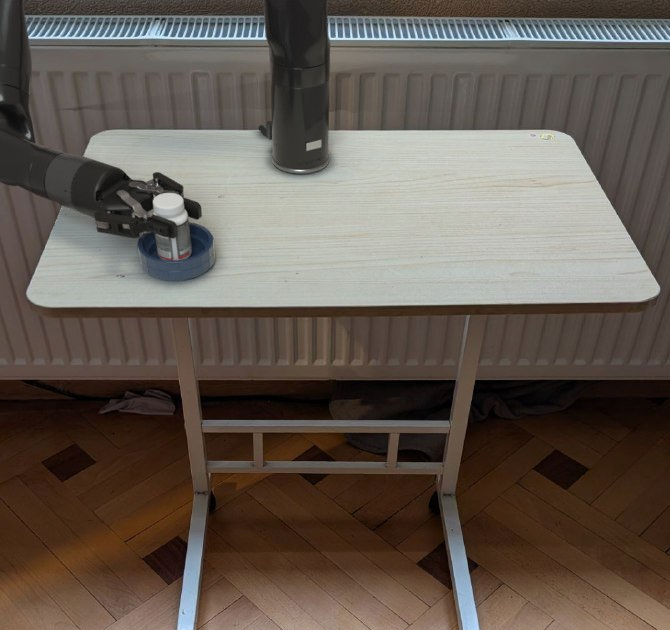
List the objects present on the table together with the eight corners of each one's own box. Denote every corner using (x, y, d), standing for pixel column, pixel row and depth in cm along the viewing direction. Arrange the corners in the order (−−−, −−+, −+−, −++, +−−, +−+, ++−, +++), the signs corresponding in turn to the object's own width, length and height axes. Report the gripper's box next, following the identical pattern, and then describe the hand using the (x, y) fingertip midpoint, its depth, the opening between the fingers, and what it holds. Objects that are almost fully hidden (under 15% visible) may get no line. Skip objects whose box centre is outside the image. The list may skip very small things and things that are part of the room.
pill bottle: (189, 242, 117) (184, 189, 111) (194, 261, 114) (188, 207, 108) (155, 245, 116) (148, 192, 110) (159, 265, 113) (151, 211, 107)
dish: (134, 250, 118) (130, 228, 115) (204, 237, 121) (202, 215, 118) (150, 290, 111) (146, 268, 109) (223, 275, 114) (222, 253, 112)
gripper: (45, 184, 108) (151, 221, 103) (117, 140, 117) (217, 172, 112) (57, 234, 113) (158, 271, 108) (124, 188, 123) (220, 221, 117)
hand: (187, 221), depth 110 cm, fingers closed on pill bottle, 4 cm apart
